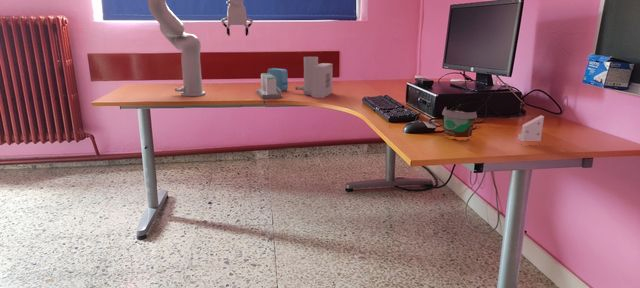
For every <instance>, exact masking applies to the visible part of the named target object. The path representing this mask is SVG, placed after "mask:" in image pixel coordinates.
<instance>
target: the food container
mask: <svg viewBox="0 0 640 288" xmlns="http://www.w3.org/2000/svg"><path fill="white" fill-rule="evenodd" d="M441 114H442V116H443V128H444V129H443V134H444V133H445V134H447V135H449V136H454V137H469V136H471V137H472V135H473V129H474V124H475V121H476V119H477V118H478V115H477V111H473V112H466V111H464V110H454V109H453V110H452V109H447V106H445V107H444V108H443V110H442V112H441Z"/></svg>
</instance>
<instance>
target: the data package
mask: <svg viewBox="0 0 640 288" xmlns="http://www.w3.org/2000/svg"><path fill="white" fill-rule="evenodd" d="M267 73H270V74H271V75H273V76H274V77H276V86H277V87H278V88H279V89H280V90H281V92H283V91H287V90H288V89H289V88H288V87H289V86H288V85H289V84H288V83H289V82H288V78H289V77H288V70H287V69H286V68H277V67H276V68H275V67H272V68H268V69H267Z"/></svg>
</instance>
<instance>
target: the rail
mask: <svg viewBox="0 0 640 288" xmlns="http://www.w3.org/2000/svg"><path fill="white" fill-rule="evenodd" d="M263 75H271V74H270V73H268V72H265V73H264V72H262V73H261V74H260V83H261V85H260V86H261V87H260V88H256V93H257V94H258V95H259V97H260V98H261V99H262V100H264V99H266V100H267V99H282V91H281V90H280V89H279V88H278V87H277V86H276V77H266V78H265V87H266V93H265V92H264V91H263V80H262V76H263Z"/></svg>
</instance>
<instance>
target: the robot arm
mask: <svg viewBox="0 0 640 288" xmlns="http://www.w3.org/2000/svg"><path fill="white" fill-rule="evenodd" d="M226 4H227V5H228V6H227V16H226V17H224V18H222V19H221V20H220V22H221V24H222V26H224V27H225V29H226V35H227V36H228V37H229V36H230V37H231V32H230V27H231V25H232V26H244V27H245V28H244V29H245V30H244V31H245V32H244V33H245V36H248V35H249V28H250V27H251V26H252V24H253V22H254V20H253V19H252V18H250V17H247V11H246V6H245V5H244V0H226ZM147 5H148V9H149V11H150V12H149V13H151V15H152V16H153V19H155V20H156V21H157V23H158V24H159V31H160V32H161V34H162V35H163V36H164V38H166V39H167V40H168V42H170V44H171V45H172V46H174V48H176V49H177V50H178V51H179V52H181V59H180V60H181V72H182V81H183V82H182V84H183V85H182V86H180V87H174V92H179V93H180V92H181V93H180V95H181V96H183V97H202V96H204V95H206V91H204V90H203V81H202V80H203V79H202V66H201V65H202V64H201V41H200V39H199V38H198V36H196V35H195V34H192V33H186V32H185V26H184V23H183V22H182V21H181V20H180V19H179V18H178V17H177V16H176V15H175V14H174V13H173V11H172V10H171V9H170V8H169V6H168V4H167V1H166V0H147ZM226 21H227V24H226ZM247 21H248V22H249V23H248V22H247ZM247 23H248V24H247Z"/></svg>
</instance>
